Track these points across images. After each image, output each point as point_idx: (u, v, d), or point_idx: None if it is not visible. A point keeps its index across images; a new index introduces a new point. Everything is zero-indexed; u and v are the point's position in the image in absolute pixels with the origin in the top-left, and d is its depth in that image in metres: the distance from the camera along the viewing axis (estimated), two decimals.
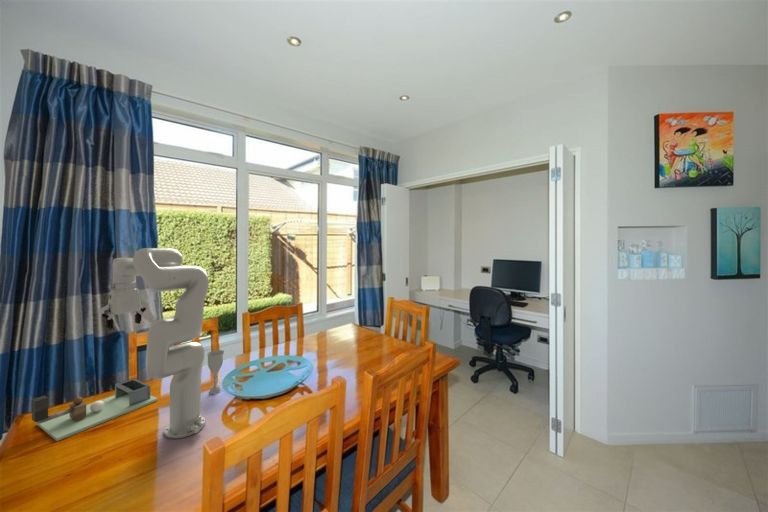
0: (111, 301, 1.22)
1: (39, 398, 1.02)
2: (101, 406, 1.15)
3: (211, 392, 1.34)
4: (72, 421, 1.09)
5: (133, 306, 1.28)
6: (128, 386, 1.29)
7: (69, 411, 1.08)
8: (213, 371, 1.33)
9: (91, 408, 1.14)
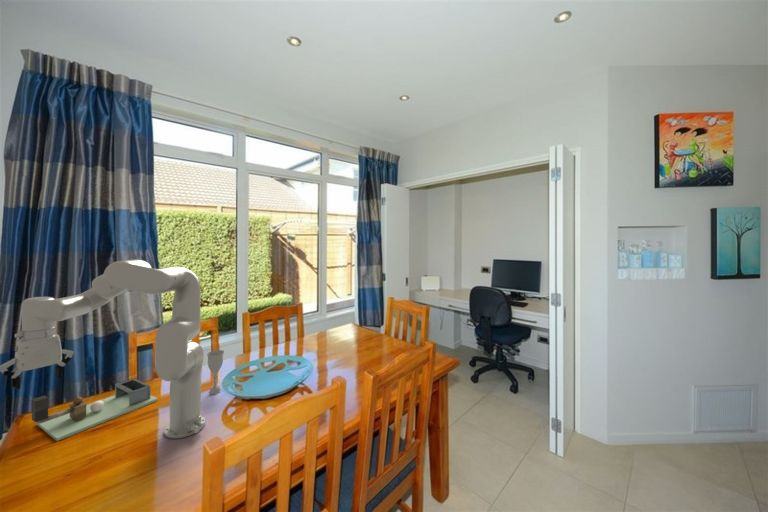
0: (17, 354, 0.96)
1: (39, 398, 1.02)
2: (101, 406, 1.15)
3: (211, 392, 1.34)
4: (72, 421, 1.09)
5: (50, 358, 1.02)
6: (128, 386, 1.29)
7: (69, 411, 1.08)
8: (213, 371, 1.33)
9: (91, 408, 1.14)
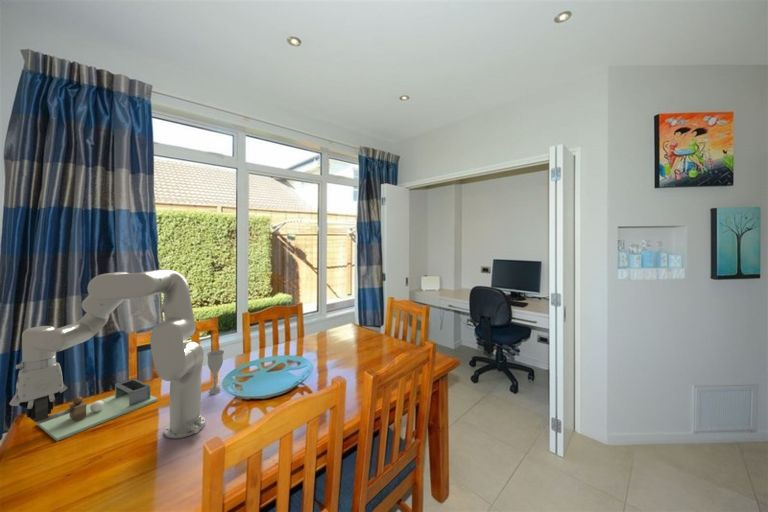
0: (18, 386, 0.96)
1: (39, 398, 1.02)
2: (101, 406, 1.15)
3: (211, 392, 1.34)
4: (72, 421, 1.09)
5: (51, 387, 1.02)
6: (128, 386, 1.29)
7: (69, 411, 1.08)
8: (213, 371, 1.33)
9: (91, 408, 1.14)
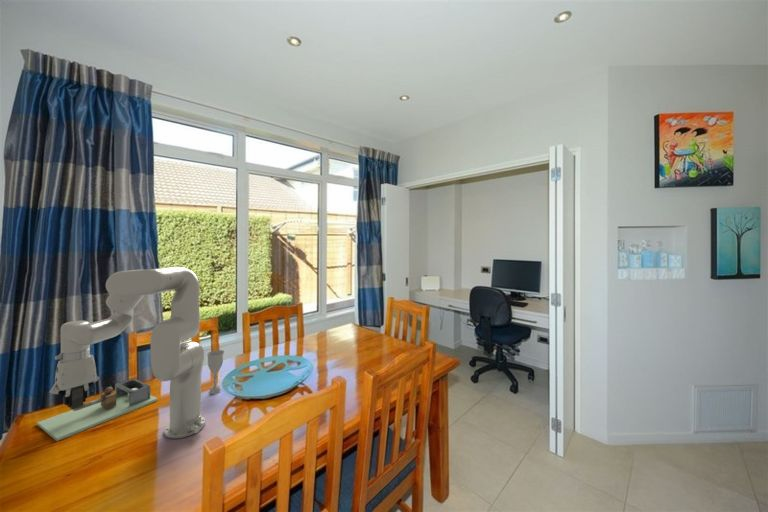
0: (58, 375, 1.04)
1: (75, 387, 1.10)
2: None
3: (211, 392, 1.34)
4: (72, 421, 1.09)
5: (86, 377, 1.10)
6: (128, 386, 1.29)
7: (101, 400, 1.16)
8: (213, 371, 1.33)
9: None
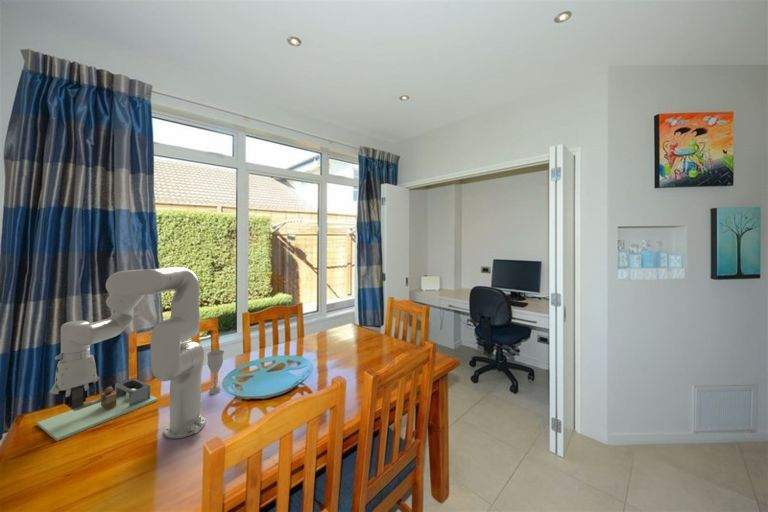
0: (58, 375, 1.04)
1: (75, 387, 1.10)
2: None
3: (211, 392, 1.34)
4: (72, 421, 1.09)
5: (86, 377, 1.10)
6: (128, 386, 1.29)
7: (101, 400, 1.16)
8: (213, 371, 1.33)
9: None
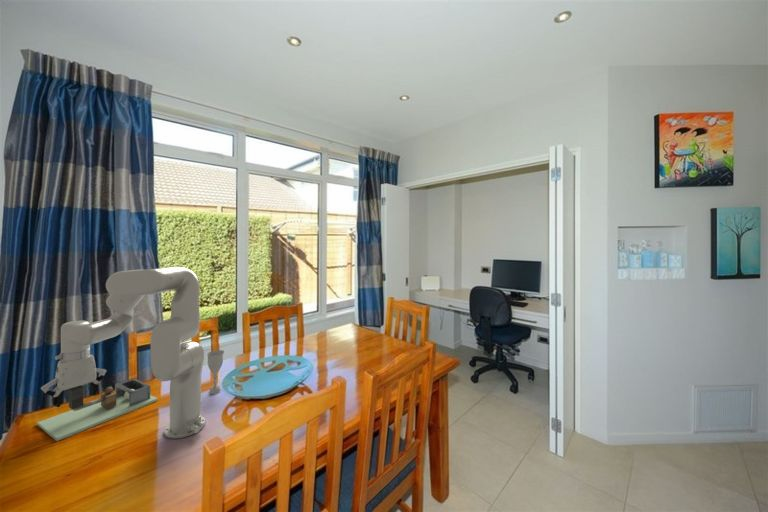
0: (58, 375, 1.04)
1: (75, 387, 1.10)
2: None
3: (211, 392, 1.34)
4: (72, 421, 1.09)
5: (86, 377, 1.10)
6: (128, 386, 1.29)
7: (101, 400, 1.16)
8: (213, 371, 1.33)
9: None
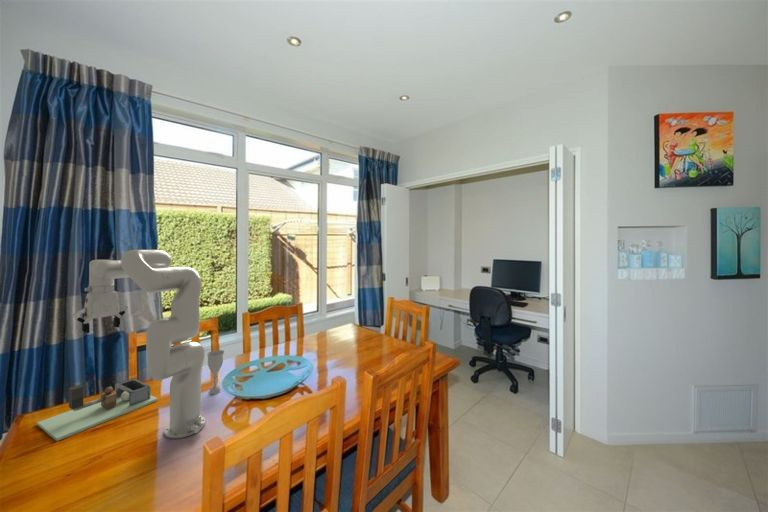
0: (87, 305, 1.18)
1: (75, 387, 1.10)
2: (128, 395, 1.23)
3: (211, 392, 1.34)
4: (72, 421, 1.09)
5: (111, 309, 1.24)
6: (128, 386, 1.29)
7: (101, 400, 1.16)
8: (213, 371, 1.33)
9: None
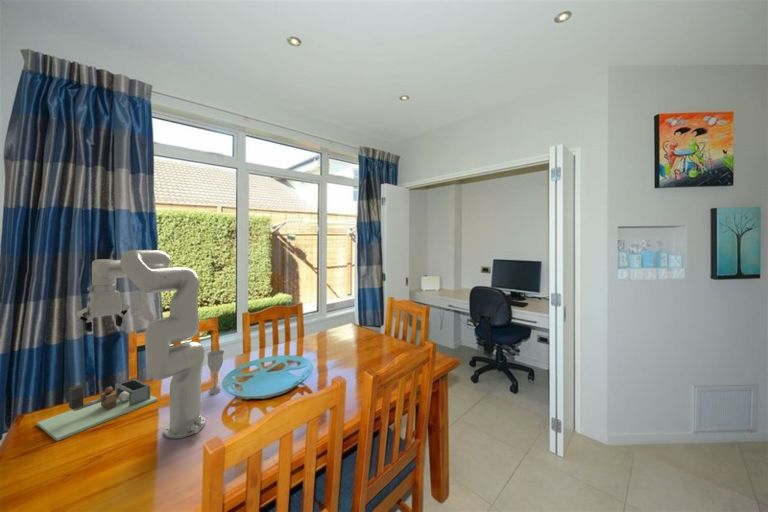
0: (90, 304, 1.20)
1: (75, 387, 1.10)
2: (125, 397, 1.22)
3: (211, 392, 1.34)
4: (72, 421, 1.09)
5: (113, 308, 1.26)
6: (128, 386, 1.29)
7: (101, 400, 1.16)
8: (213, 371, 1.33)
9: None
